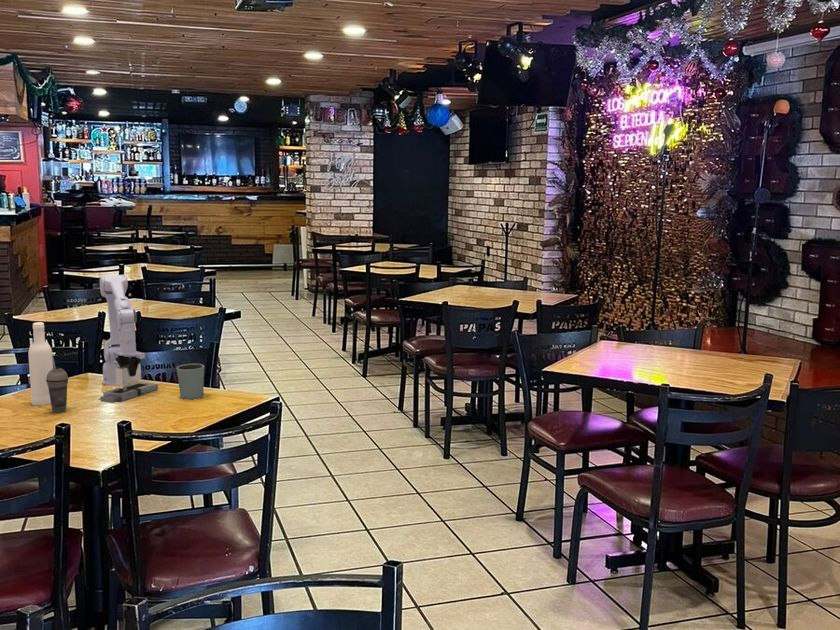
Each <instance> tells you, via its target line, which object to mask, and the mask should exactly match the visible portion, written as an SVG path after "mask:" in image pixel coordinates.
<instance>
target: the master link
mask: <svg viewBox="0 0 840 630" xmlns="http://www.w3.org/2000/svg"><path fill="white" fill-rule="evenodd" d="M115 376H116V384H121V385H120V386H124V385H126V384H127V385H128V384H131V383H132V382H133V383H134V382H137V381H139V380H142V367H141V363H139V365H138V367H137V371H136V376H132V377H131V376H130V369H129V365H125V366H122V367H118V368H115Z"/></svg>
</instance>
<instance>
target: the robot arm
mask: <svg viewBox="0 0 840 630" xmlns="http://www.w3.org/2000/svg"><path fill="white" fill-rule="evenodd" d="M128 286H129V282H128V277H127V275H126V274H114V275H113V274H111V275H103V274H102V275H100V277H99V289H100V290H99V291H100V294H101V297H104V298H105V299H106V302H107V311H108V312H107V313H108V314H107V315H108V322H109V323H108V324H109V334H110V338H109V339H107V340H106V341H105V342H104V343H103V344H104V345H103V356H104V361H105V362H104V363H103V365H102V377H103V381H102V382H101V384H103V385H112V386H122V385H121V384H116V376H115V368H118V367H122V366H125V365H129V369H130V376H131V377H132V376H136V371H137V367H138V365H139V364H140V363H141V361H142V359H146V354H145V352H141V351H137V343H136V325H135V324H136V323H137V312H136V309H135V308H134V307H132V304H131V301H130V298H128V297H127V296H126V292H127V289H128Z"/></svg>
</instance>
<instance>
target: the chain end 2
mask: <svg viewBox="0 0 840 630" xmlns="http://www.w3.org/2000/svg"><path fill="white" fill-rule="evenodd" d="M158 385H159V384H158V383H153V382H152V383H151V382H140V381H135V382H133V383H132V382H131V383H128V384H127V385H126V384H125V385H122V388H123V393H124V392H127V391H130V390H137V395H142V396H144V395H143V394H145V395H147V394H146V393H148V394H150V393H149V392H151V393H153V392H152V391H154V392H156V391H155V390H156V389H158V388H159V386H158Z"/></svg>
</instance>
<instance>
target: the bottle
mask: <svg viewBox="0 0 840 630" xmlns="http://www.w3.org/2000/svg"><path fill="white" fill-rule="evenodd" d="M32 330H33V332H32V333H33V343H32V344H31V345H30V346H29V349H28V352H27V353H28V366H29V379H30V380H29V381H30V384H29V385H30V401H31V405H32V406H45V405H46V406H47V405H51V401H50V395H49V389H48V385H47V381H46V378H47V374H48V372H49V371H50V370H52V369H54V366H53V360H52V356H53V349H52V348H51V346H50V344H49V343H48V342H46V337H45V323H44V322H41V321H40V322H39V321H37V322H33V323H32Z"/></svg>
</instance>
